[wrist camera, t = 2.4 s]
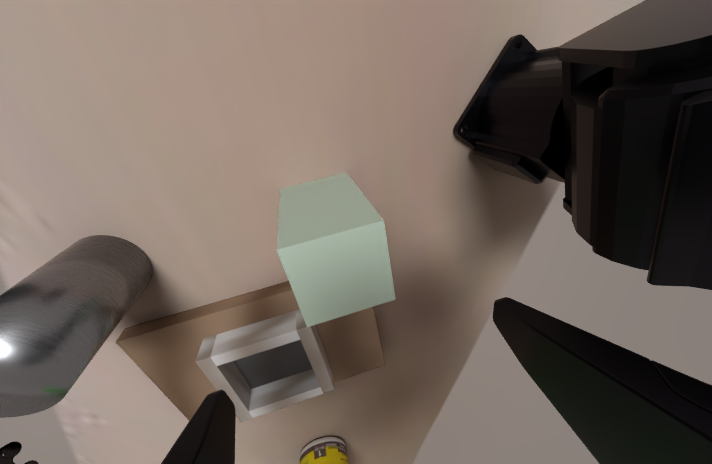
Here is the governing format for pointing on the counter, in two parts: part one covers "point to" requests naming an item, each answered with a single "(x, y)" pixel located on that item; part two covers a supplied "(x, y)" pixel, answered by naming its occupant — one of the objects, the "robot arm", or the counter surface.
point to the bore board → (252, 352)
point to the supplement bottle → (324, 452)
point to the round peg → (64, 319)
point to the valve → (11, 453)
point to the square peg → (333, 249)
